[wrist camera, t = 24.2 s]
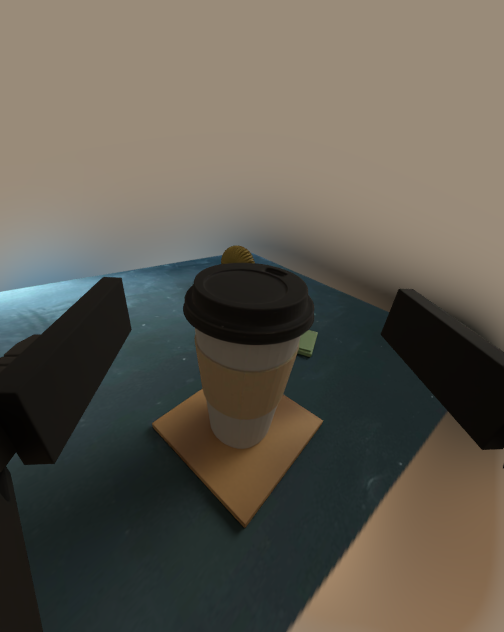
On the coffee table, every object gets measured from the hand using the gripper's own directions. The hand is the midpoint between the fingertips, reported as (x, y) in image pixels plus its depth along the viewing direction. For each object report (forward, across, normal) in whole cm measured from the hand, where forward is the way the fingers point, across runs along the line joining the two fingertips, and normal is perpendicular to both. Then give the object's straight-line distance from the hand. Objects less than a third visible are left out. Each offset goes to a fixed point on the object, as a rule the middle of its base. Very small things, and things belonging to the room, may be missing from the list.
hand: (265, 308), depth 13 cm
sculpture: (+42, +1, -17) cm, 45 cm away
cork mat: (+6, 0, -17) cm, 18 cm away
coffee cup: (+6, 0, -16) cm, 17 cm away
